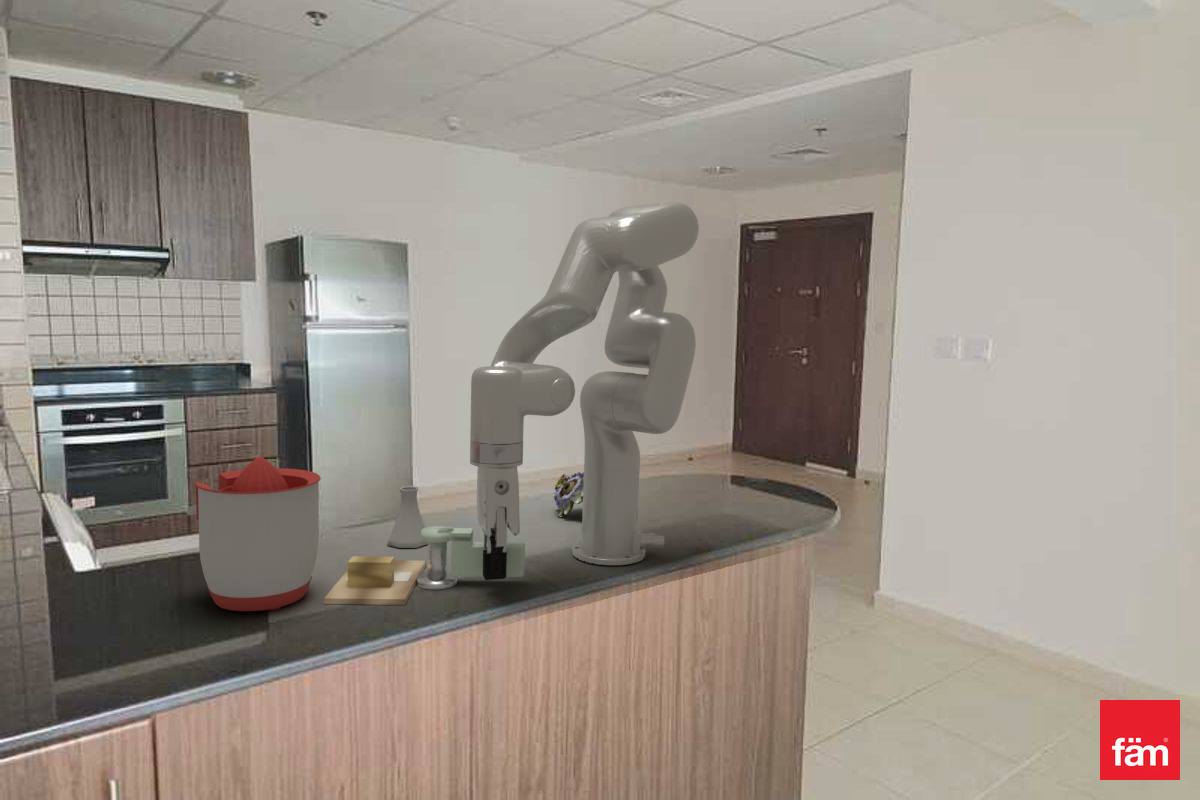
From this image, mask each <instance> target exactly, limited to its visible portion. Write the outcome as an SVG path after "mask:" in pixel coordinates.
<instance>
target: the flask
mask: <svg viewBox="0 0 1200 800" xmlns="http://www.w3.org/2000/svg"><path fill="white" fill-rule="evenodd" d="M419 488H420V487H419V486H415V485H406V486H400V488H399V493H400V494H401V495H400V499H401V500H400V505H399V509H398V513H397V517H396V519H395V523H394V524H393V527H392V530H391V533H390V535H389V538H388V541H387V545H386V546H389V547H395V548H398V549H417V548H420V547H423V546H426V545H428V542H425V541H423V540H421V530H422V529H423V528H426V526H425V523H424V520H423V518H422V515H421V512H420V509H419V502H418V499H417V498H418V491H419Z"/></svg>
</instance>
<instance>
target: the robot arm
mask: <svg viewBox="0 0 1200 800" xmlns="http://www.w3.org/2000/svg"><path fill="white" fill-rule="evenodd" d="M698 235H699V220H698V218H697V215H696V213H695V212H694V210H693V209H692V208H691V207H690V206H689V205H687V204H686V203H683V202H666V203H665V202H664V203H654V204H653V203H651V204H641V205H632V206H630V205H629V206H626V207H621V208H618V209H616V210H614V211H611V213H610V214H608V215H607V216H600V217H592V218H588V219H586V220H583V221H582V222H580V223H579V224H578V225H576V227H575V228H574V230H573V232H572V234H571V236H570V239H569V241H568V243H567V245H566V247H565V250H564V252H563V255H562V257H561V259H560V262H559V263H558V266H557V269H556V271H555V273H554V275H553V278H552V279H551V282H550V284H549V286H548V289H547V290H546V293H545V295H544V297H542V298H541V300H540V301H538V302H537V303H536V304H535V305H533V306H532V307H531V308H530V309H528V310H527V311H526V313H524V315H523V316H521V318H519V320H517V321H516V322H515V323H514V324H513V325H512V326H511V328H510V329H509V330H508V331H507V333H506V334H505V335H504V337H503V338H502V341H501V342H500V344H499V345H498V349H497V351H496V353H495V355H494V357H493V360H492V362H491V364H490V366H489V365H488V366H481V367H478V368H476V369H474V370H473V372H472V373H471V381H470V383H471V384H470V427H469V428H470V429H469V430H470V431H469V432H470V435H469V436H470V438H469V440H470V441H469V443H470V444H469V446H470V447H469V464H470V465H472V466H475V467H477V472H476V473H477V475H476V476H477V477H476V479H477V480H476V481H477V482H476V513H477V515H476V516H477V521H478V525H479V526H480V528H481V530H482V532H483V542H484V549H486V550H483V576H482V577H483V580H485V581H491V580H492V581H494V580H504V579H506V578H507V577H506V565H507V551H506V546H507V542H508V541H507V540H508V530H509V531H510V533H511V534H512V535H514V536H515V537H516V536H518V535H519V534H520V531H521V530H520V527H521V526H520V522H521V521H520V485H519V484H520V483H519V472H518V467H519V466H522V465H523V463H524V462H523V461H524V423H525V422H524V419H525V416H538V417H539V416H540V417H553V416H557V415H559V414H561V413H564V412H565V411H567V410H568V409H569V408H570V406H571V405H572V403H573V401H574V399H575V395H576V385H575V382H574V380H573V378H572V376H571V374H569V373H568V372H567V371H565V370H564V369H563V368H561V367H558V366H555V365H549V364H546V365H545V364H539V363H538V364H537V363H534V362H535V360H536V359H537V357H538V356H539V355H540V354H541V353H542V351H544V350H545V348H546V347H548V346H549V345H551V344H552V343H554V342H555V341H557V340H559V339H560V338H562V337H565V336H567V335H569V334H572V333H573V332H576V331H579V330H580V329H582V328H584V327H586V326H588V325H590V323H592V322H593V321H594V320H595V319H596V318H597V316H598V313H599V311H600V308H601V305H602V303H603V300H604V297H605V296H606V293H607V290H608V288H609V285H610V283H611V281H612V278H613V276H614V274H615V273H617V272H618V279H619V281H618V289H617V293H616V296H615V297H616V298H615V302H614V303H613V304H614V305H613V308H612V312H611V316H610V320H609V323H608V327H607V330H606V335H605V339H604V353H605V355H606V358H607V359H608V360H609V361H610V362H611V363H612V364H615V365H617V366H622V367H627V368H637V369H638V368H639V369H647V370H648V372H647V374H645V373H644V374H643V373H642V374H641V373H635V372H625V371H608V370H607V371H602V372H601V371H600V372H597V373H595V374H593V375H591V376H590V377H589V378H587V379H586V381H585V382H584V383H583V386H582V388H581V391H580V394H579V395H580V396H579V397H580V398H579V405H580V406H579V407H580V413H581V418H582V425H583V435H584V436H583V437H584V460H583V462H584V465H583V472H584V484H583V502H582V515H581V517H582V519H581V523H582V525H581V540H580V541H578V542H575V544H573V545H572V550H571V551H572V555H573V556H574V557H575V558H576V559H577V558H578V559H577V560H579V561H582V562H584V561H585V563H588V564H592V563H593V565H599V566H600V565H601V566H626V565H630V564H631V565H632V564H636V563H639V562H641V561H642V560H643V559H644V558H645V557H646V549H647V547H653V548H665V535H656V533H650V532H649V533H648V532H647V533H643V532H642V531H641V530H640V528H639V527H638V526H639V525H638V522H639V521H638V516H639V514H638V513H639V495H640V494H639V492H640V491H639V490H640V469H641V453H640V447H639V444H638V441H637V438H636V437H635V434H634V432H635V433H636V432H637V433H643V434H650V435H662V434H666V433H667V432H669V431H670V430H671V429H672V428H673V427H674V426H675V425H676V423H677V422H678V418H679V416H680V413H681V410H682V407H683V403H684V399H685V396H686V395H685V394H686V391H687V387H688V384H689V379H690V375H691V371H692V367H693V363H694V358H695V354H696V341H697V340H696V334H695V333H696V332H695V330H694V328H693V327H694V326H693V325H692V323H691V321H690V320H689V319H688V318H687V317H685V316H684V315H682V314H681V313H680V314H679V313H676V312H666V311H664V310H665V306H666V302H667V297H668V296H667V295H668V286H667V281H666V278H665V275H664V274H663V271H662V270H661V268H660V267H659V266H660V265H663V264H664V263H667V262H670V261H672V260H675V259H678V258H680V257H683V256H684V255H687V253H689V252H690V251H691V249H692V248H693V247H694V245H696V241H697V240H698V237H699V236H698Z"/></svg>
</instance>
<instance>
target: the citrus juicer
mask: <svg viewBox="0 0 1200 800" xmlns="http://www.w3.org/2000/svg"><path fill="white" fill-rule="evenodd" d="M320 481H321V476H320V475H319V474H318V473H317V472H313V471H311V470H304V469H297V468H279V467H277V468H275V467H274V465H273V464H271V462H269V461H268V460H267V459H265V458H264V457H262V456H258V457H256V458H254V459H253V460H252V461H250V463H249V464H248V465H247V466H246V467H245V468H244V469H237V470H230V471H224V472H221V473H218V490H213V489H211V488H210V485H208V484H205V483H201V482H199V481H196V483H195V496H196V500H195V501H196V503H194V504H193V505H190V507H188V508H187V511H186V515H187V516H192V515H193V516H195V515H196V520H198V547H199V549H198V550H199V558H200V559H199V560H200V564H201V568H202V572H203V576H204V577H203V578H204V579H205V582H206V585H207V590H208V592H209V595H210V597H211V598H212V601H213V602H214V604H215V605H216V606H217V605H218V606H217V607H219V608H221V609H223V610H224V609H225V610H229V611H235V612H259V611H277V610H279V609H281V608H282V607H284V606H288V605H290V604H291V605H292V604H293V603H295V602H297V601H299V600H301V599H302V598H303V597H304V596H305V595H306V593H307V590H308V589H309V586H310V584H311V580H313V579H312V578H313V572H314V569H315V565H316V561H317V556H318V552H319V538H320V534H319V533H320V528H319V527H320V526H319V525H320V522H319V518H320V517H319V516H320V514H319V513H320V512H319V511H320V510H319V509H320V506H319V497H320V495H319V494H320V493H319V487H320V485H319V482H320Z"/></svg>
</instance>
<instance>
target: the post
mask: <svg viewBox="0 0 1200 800" xmlns="http://www.w3.org/2000/svg"><path fill="white" fill-rule="evenodd" d="M447 562H448V542H442V543H430V542H428V544H427V572H422V574H421V575H419V576H418V577H417V583H416V586H417V587H418V588H420V589H423V590H429V591H432V590H433V591H438V590H439V591H440V590H447V589H450V588H453V587H455V586H457V583H458V576H451V571H448V570H447V567H448V566H447V565H448V563H447Z"/></svg>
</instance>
